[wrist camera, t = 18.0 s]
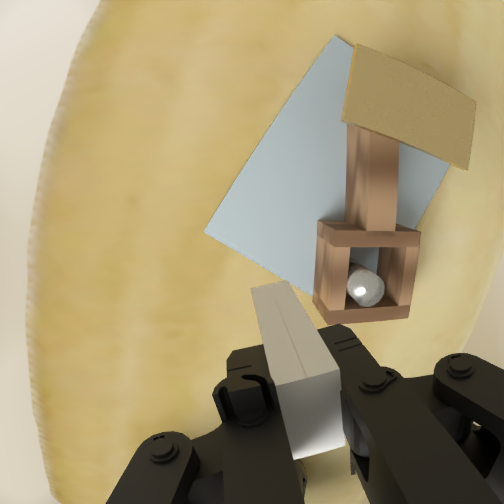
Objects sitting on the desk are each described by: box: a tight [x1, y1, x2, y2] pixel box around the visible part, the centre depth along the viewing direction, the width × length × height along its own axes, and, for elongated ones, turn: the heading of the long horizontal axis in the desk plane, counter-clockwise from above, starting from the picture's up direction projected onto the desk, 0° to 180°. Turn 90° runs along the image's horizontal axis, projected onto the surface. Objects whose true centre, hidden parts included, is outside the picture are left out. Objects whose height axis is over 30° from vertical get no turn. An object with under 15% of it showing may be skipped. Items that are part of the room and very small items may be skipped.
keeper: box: [340, 44, 476, 170], centre depth 27 cm, size 7×13×10 cm, turn 78°
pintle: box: [346, 256, 385, 307], centre depth 31 cm, size 3×3×8 cm
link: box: [312, 124, 421, 325], centre depth 31 cm, size 21×9×6 cm, turn 179°
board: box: [204, 35, 450, 297], centre depth 33 cm, size 26×20×1 cm
